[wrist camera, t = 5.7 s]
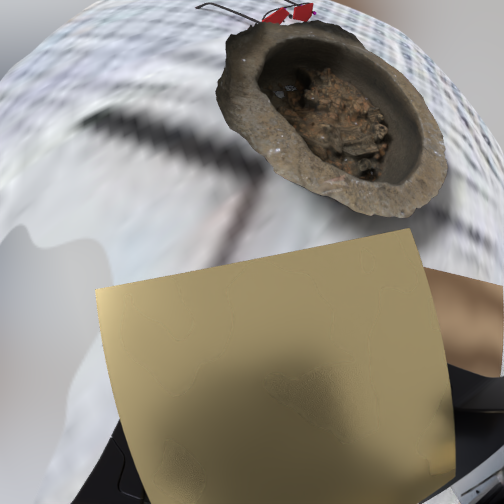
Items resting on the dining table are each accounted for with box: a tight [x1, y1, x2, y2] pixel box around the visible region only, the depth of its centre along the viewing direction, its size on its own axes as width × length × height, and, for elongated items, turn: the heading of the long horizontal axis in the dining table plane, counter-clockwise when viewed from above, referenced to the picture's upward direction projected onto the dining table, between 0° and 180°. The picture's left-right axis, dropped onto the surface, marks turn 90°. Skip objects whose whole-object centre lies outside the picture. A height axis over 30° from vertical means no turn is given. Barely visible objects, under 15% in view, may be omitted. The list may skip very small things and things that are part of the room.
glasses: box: [195, 0, 316, 24], centre depth 36 cm, size 14×16×5 cm
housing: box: [95, 228, 456, 504], centre depth 9 cm, size 6×6×12 cm
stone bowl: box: [215, 20, 448, 218], centre depth 26 cm, size 25×25×9 cm
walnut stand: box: [423, 267, 504, 377], centre depth 22 cm, size 18×14×2 cm
